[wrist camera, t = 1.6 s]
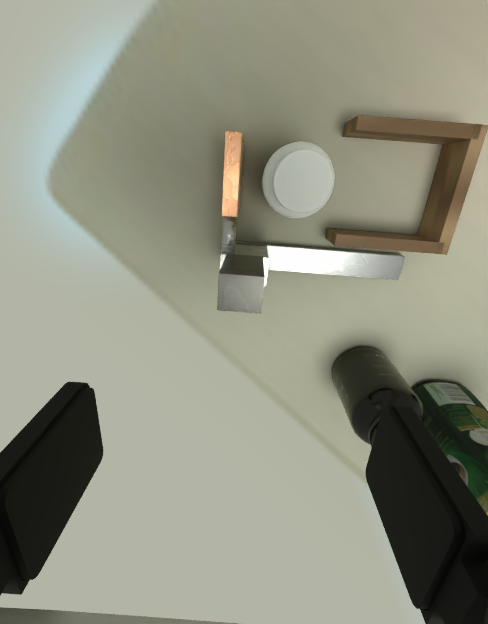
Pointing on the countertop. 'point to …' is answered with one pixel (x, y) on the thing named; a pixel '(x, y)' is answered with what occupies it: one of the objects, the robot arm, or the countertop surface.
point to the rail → (332, 261)
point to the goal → (445, 187)
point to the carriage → (237, 257)
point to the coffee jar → (459, 432)
